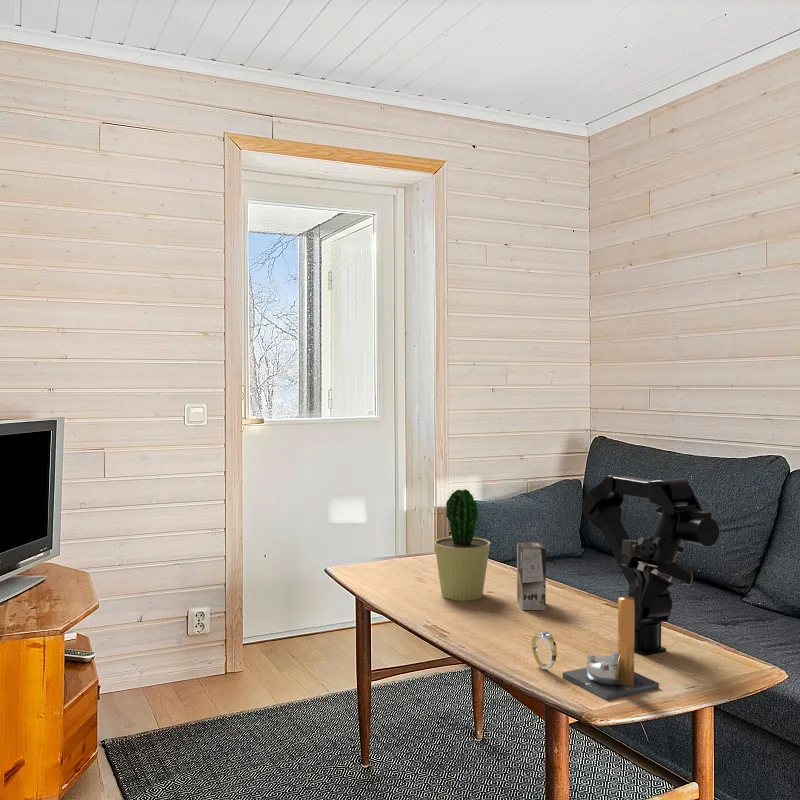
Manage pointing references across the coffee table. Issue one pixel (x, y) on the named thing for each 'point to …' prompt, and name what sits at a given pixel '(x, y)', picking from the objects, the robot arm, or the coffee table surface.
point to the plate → (607, 689)
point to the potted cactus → (462, 551)
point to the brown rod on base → (621, 662)
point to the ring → (552, 646)
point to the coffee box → (531, 575)
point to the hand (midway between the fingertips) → (640, 607)
